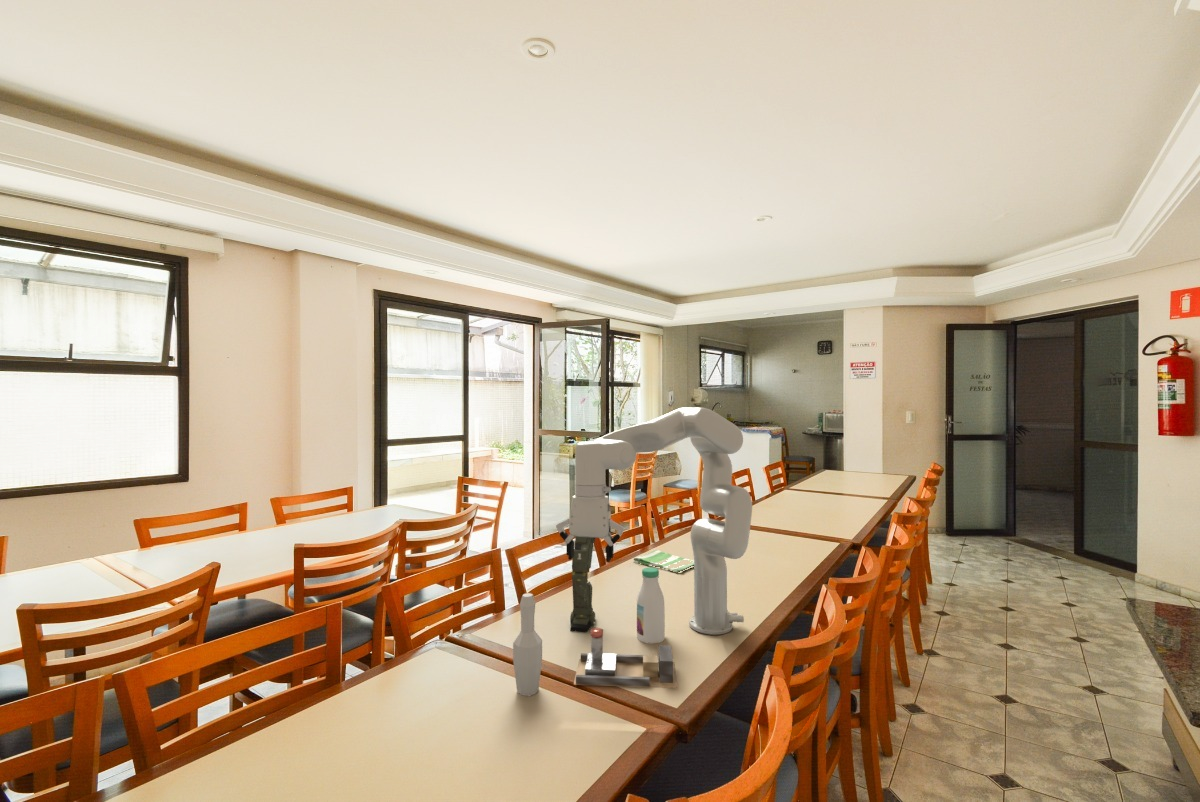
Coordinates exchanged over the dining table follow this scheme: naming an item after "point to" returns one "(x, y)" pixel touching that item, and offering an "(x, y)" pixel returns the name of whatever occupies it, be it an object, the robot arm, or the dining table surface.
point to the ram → (599, 657)
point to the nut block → (650, 666)
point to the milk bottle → (650, 608)
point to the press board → (632, 672)
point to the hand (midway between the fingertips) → (589, 559)
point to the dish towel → (659, 556)
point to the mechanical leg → (582, 586)
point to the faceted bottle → (527, 650)
